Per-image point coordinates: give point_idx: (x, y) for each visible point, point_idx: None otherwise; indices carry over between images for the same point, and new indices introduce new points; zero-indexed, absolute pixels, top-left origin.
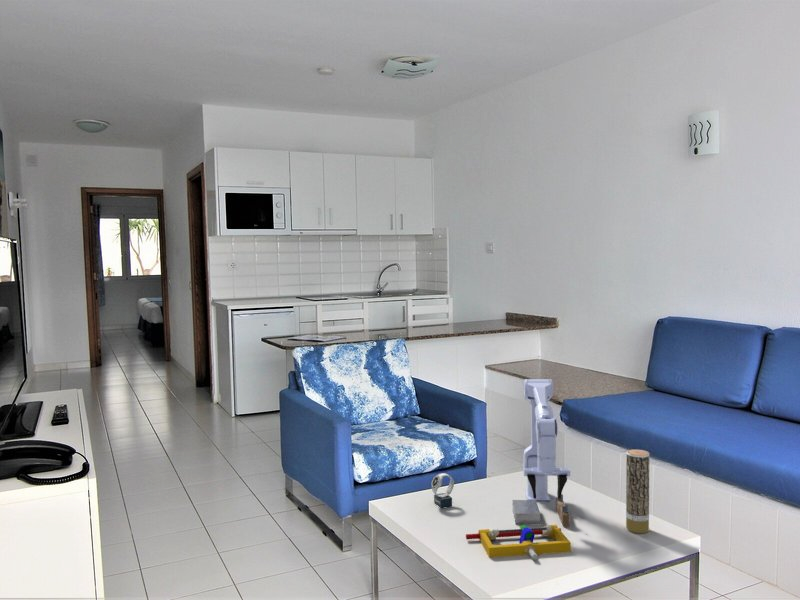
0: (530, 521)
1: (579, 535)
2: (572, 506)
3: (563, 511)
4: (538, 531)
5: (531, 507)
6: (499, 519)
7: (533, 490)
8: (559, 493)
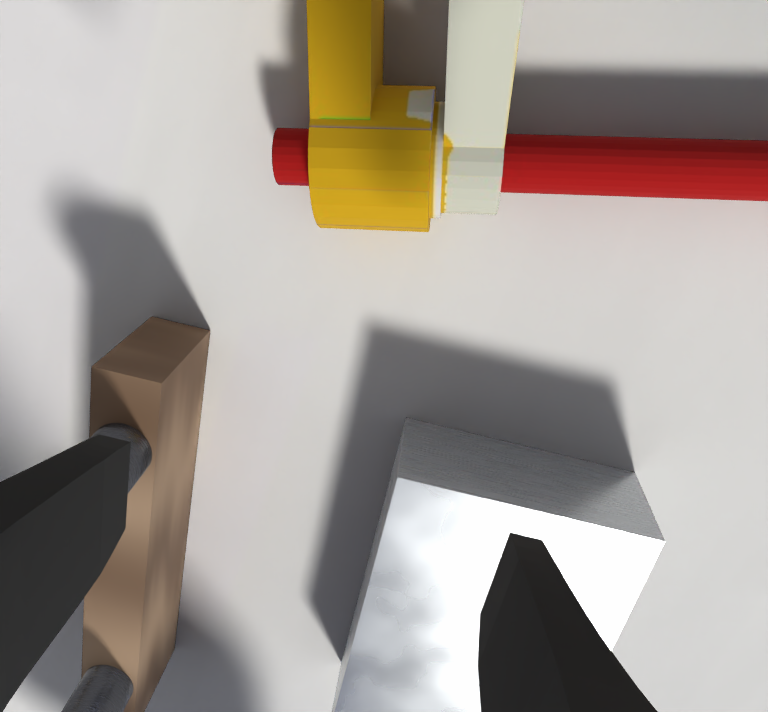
0: (497, 455)
1: (97, 98)
2: (38, 660)
3: (136, 439)
4: (552, 143)
5: (429, 627)
6: (729, 588)
7: (597, 645)
8: (58, 480)
